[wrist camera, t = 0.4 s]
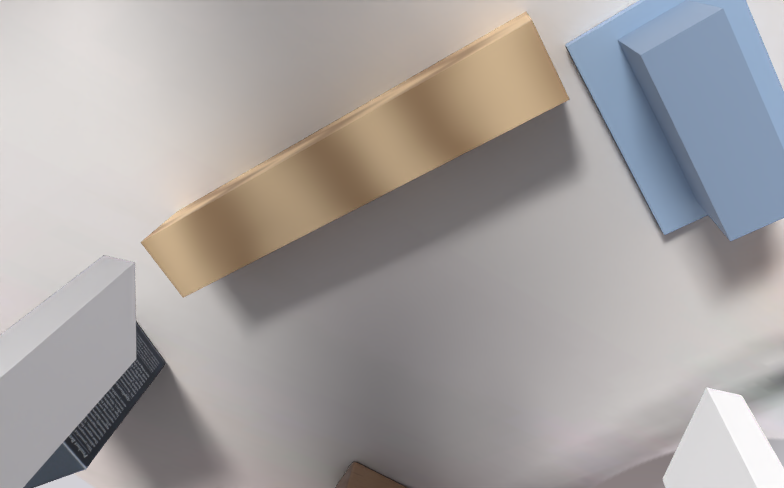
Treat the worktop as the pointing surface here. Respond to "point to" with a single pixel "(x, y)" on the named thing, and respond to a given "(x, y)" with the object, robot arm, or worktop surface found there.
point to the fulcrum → (691, 110)
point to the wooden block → (365, 478)
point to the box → (103, 416)
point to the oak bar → (362, 156)
